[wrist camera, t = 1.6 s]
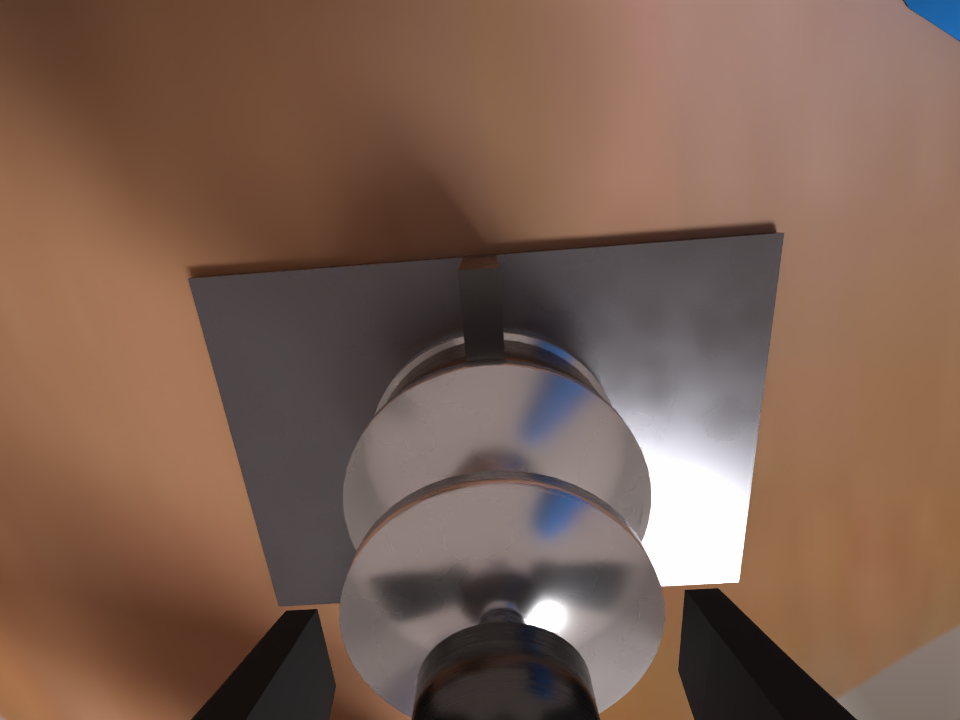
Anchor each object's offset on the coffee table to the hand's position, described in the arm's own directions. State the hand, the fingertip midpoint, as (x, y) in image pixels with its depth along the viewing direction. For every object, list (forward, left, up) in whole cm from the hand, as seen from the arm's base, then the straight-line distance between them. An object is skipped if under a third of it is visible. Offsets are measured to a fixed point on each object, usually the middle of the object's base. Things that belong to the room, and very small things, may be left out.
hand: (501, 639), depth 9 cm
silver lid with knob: (0, 0, -1) cm, 1 cm away
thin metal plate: (0, 0, -8) cm, 8 cm away
